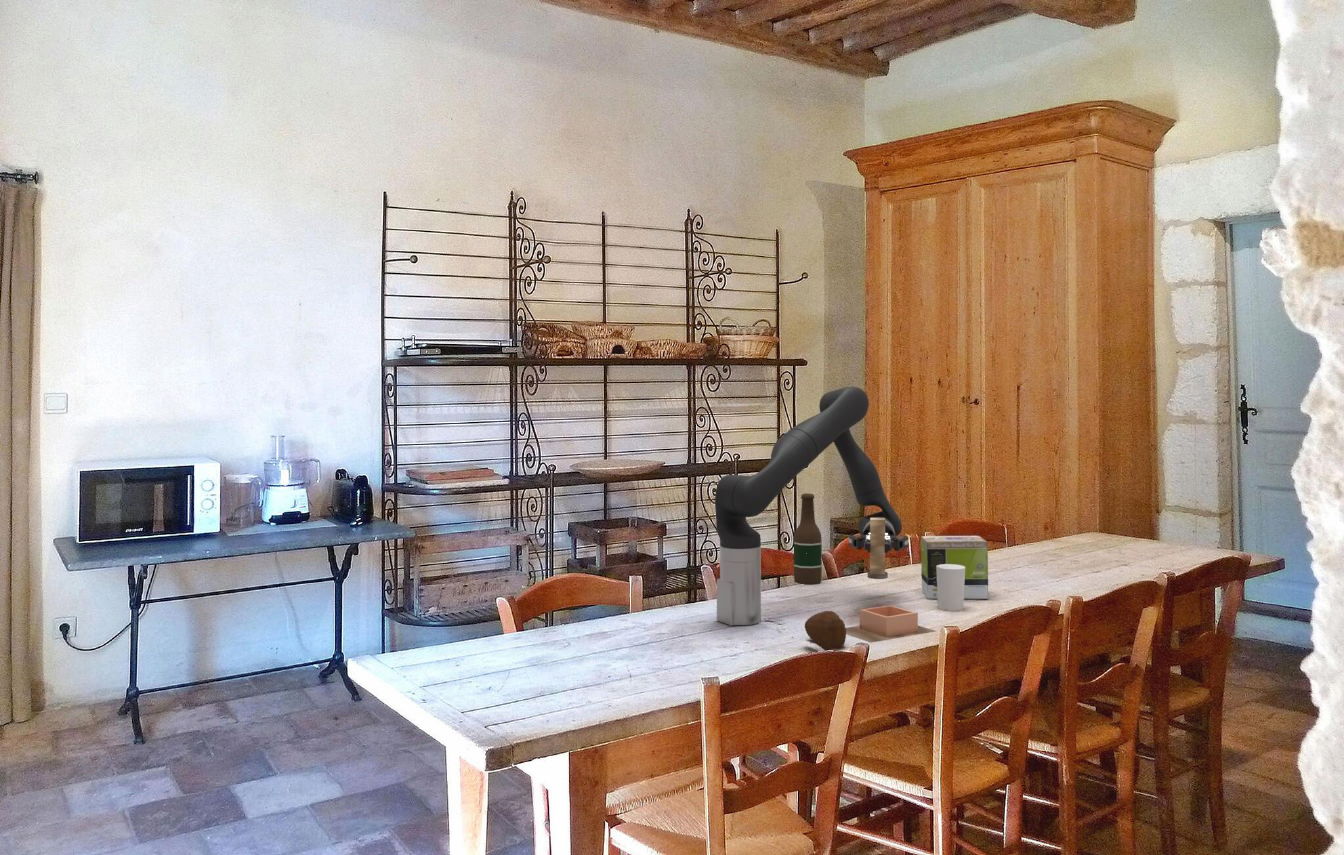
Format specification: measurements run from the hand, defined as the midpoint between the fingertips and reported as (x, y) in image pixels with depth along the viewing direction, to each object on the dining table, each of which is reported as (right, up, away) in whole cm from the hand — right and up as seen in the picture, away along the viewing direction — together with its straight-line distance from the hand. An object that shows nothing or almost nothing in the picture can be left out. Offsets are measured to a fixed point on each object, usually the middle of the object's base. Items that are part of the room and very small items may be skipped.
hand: (877, 547), depth 217 cm
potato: (-13, -19, -15) cm, 28 cm away
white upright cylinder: (+22, -17, +20) cm, 34 cm away
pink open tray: (+1, -17, -5) cm, 18 cm away
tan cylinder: (+1, -7, +3) cm, 8 cm away
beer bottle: (-8, -16, +53) cm, 56 cm away
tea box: (+26, -16, +34) cm, 47 cm away
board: (+1, -18, -5) cm, 19 cm away
